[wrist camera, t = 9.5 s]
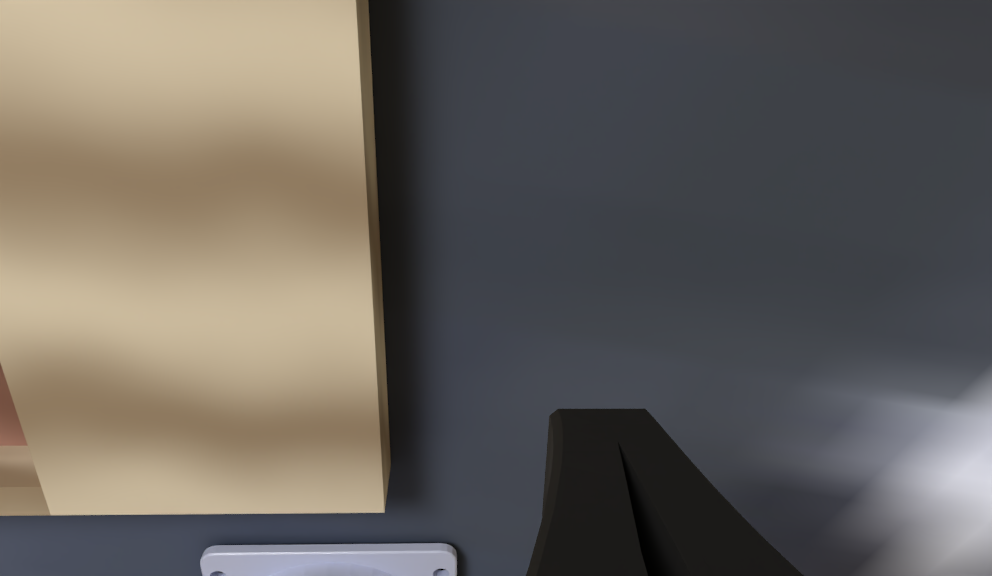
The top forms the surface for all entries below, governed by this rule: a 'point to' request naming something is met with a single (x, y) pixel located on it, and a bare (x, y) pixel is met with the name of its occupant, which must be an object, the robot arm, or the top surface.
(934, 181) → the top surface
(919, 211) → the top surface
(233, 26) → the trap deck
